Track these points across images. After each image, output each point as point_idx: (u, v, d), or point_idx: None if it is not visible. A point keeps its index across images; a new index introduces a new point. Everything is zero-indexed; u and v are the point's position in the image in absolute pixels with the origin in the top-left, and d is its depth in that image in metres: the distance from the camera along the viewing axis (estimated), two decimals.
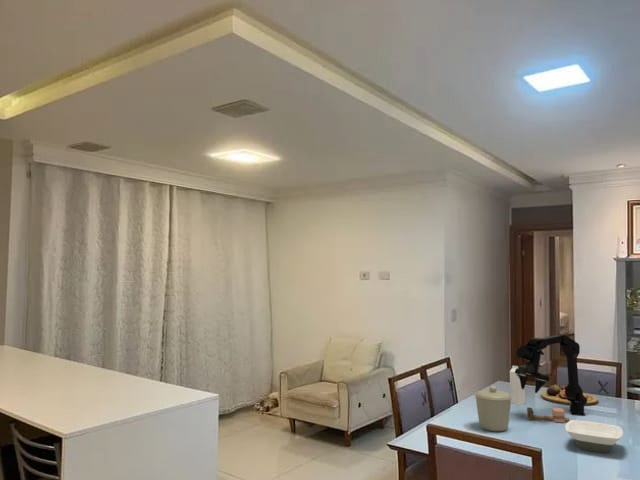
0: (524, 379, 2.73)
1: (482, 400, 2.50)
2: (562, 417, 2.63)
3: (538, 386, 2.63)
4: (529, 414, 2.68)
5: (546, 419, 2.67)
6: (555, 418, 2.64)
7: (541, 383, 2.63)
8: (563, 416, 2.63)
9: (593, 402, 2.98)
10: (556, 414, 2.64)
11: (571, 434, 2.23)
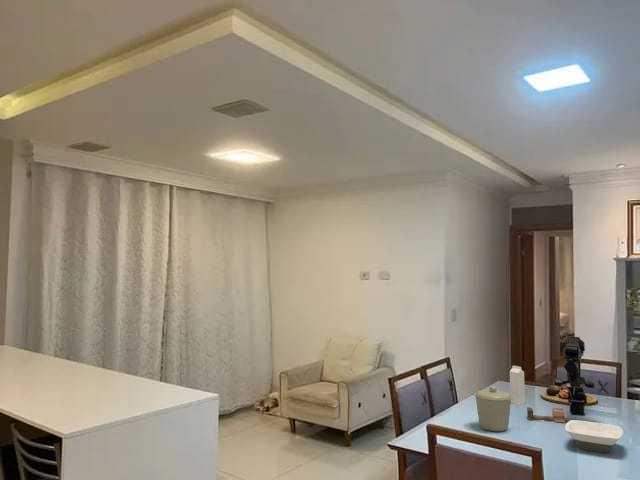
0: None
1: (482, 400, 2.50)
2: (562, 417, 2.63)
3: None
4: (529, 414, 2.68)
5: (546, 419, 2.67)
6: (555, 418, 2.64)
7: None
8: (563, 416, 2.63)
9: (593, 402, 2.99)
10: (556, 414, 2.64)
11: (571, 434, 2.23)
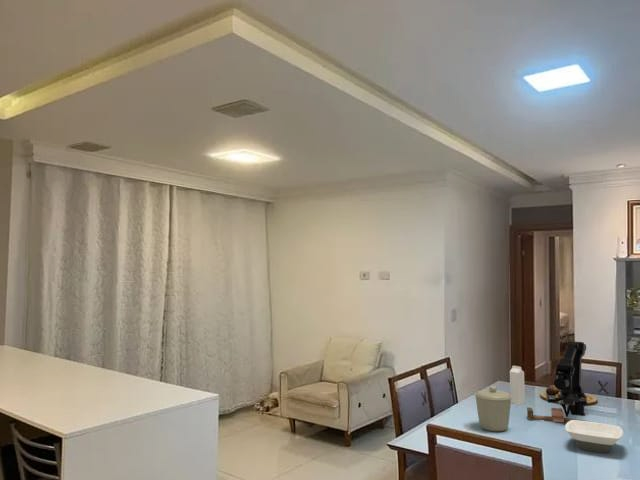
0: None
1: (482, 400, 2.50)
2: (561, 417, 2.63)
3: None
4: (529, 414, 2.68)
5: (546, 419, 2.67)
6: (554, 418, 2.64)
7: None
8: (562, 416, 2.63)
9: (592, 402, 2.99)
10: (555, 414, 2.64)
11: (571, 434, 2.23)
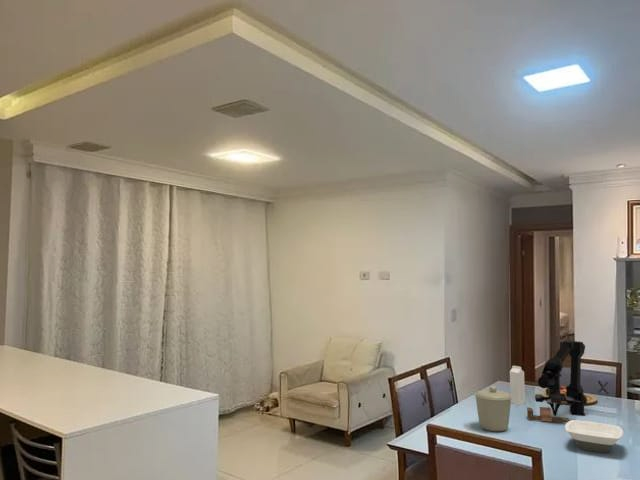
0: None
1: (482, 400, 2.50)
2: (549, 416, 2.65)
3: None
4: (529, 414, 2.68)
5: None
6: (542, 417, 2.66)
7: None
8: (550, 415, 2.65)
9: (592, 402, 2.99)
10: (543, 413, 2.66)
11: (571, 434, 2.23)
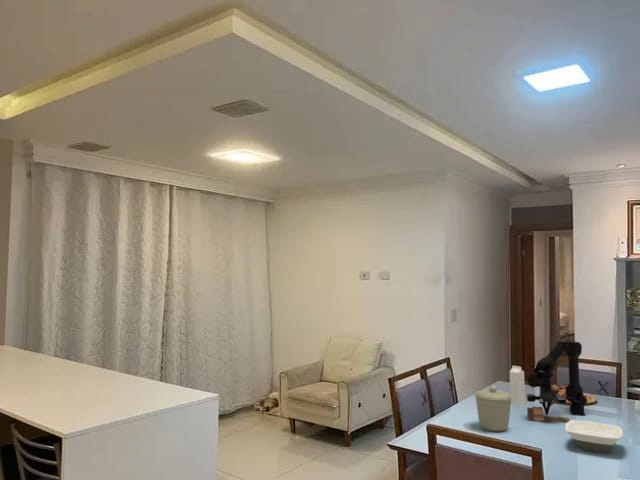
0: None
1: (482, 400, 2.50)
2: (541, 415, 2.66)
3: None
4: (529, 414, 2.68)
5: (546, 419, 2.67)
6: (534, 416, 2.67)
7: None
8: (542, 414, 2.66)
9: (592, 402, 2.99)
10: (535, 412, 2.67)
11: (571, 434, 2.23)
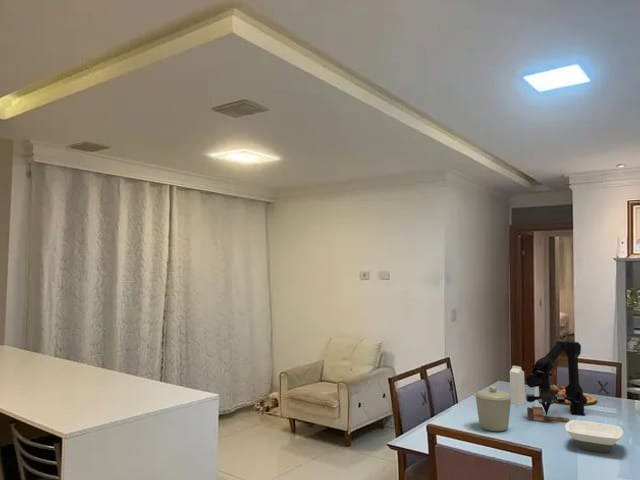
0: None
1: (482, 400, 2.50)
2: (541, 415, 2.66)
3: None
4: (529, 414, 2.68)
5: (546, 419, 2.67)
6: (534, 416, 2.67)
7: None
8: (542, 414, 2.66)
9: (591, 402, 2.99)
10: (535, 412, 2.67)
11: (571, 434, 2.23)
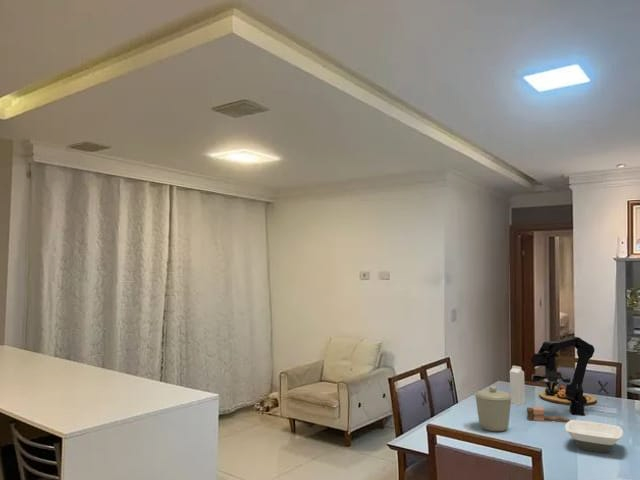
0: None
1: (482, 400, 2.50)
2: (541, 415, 2.66)
3: None
4: (529, 414, 2.68)
5: (546, 419, 2.67)
6: (534, 416, 2.67)
7: None
8: (542, 414, 2.66)
9: (591, 402, 2.99)
10: (535, 412, 2.67)
11: (571, 434, 2.23)
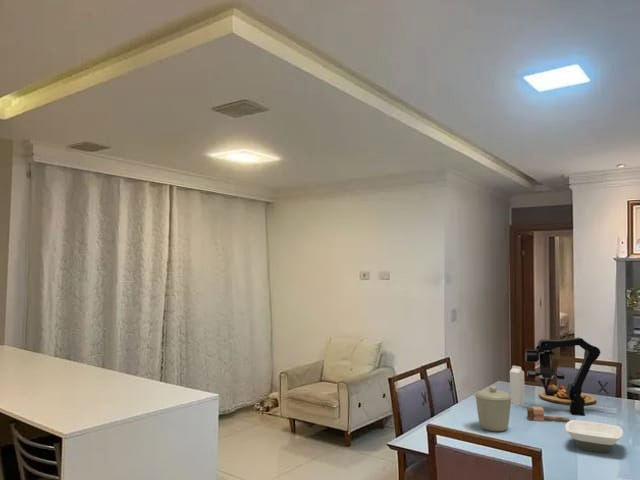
0: None
1: (482, 400, 2.50)
2: (541, 415, 2.66)
3: None
4: (529, 414, 2.68)
5: (546, 419, 2.67)
6: (534, 416, 2.67)
7: None
8: (542, 414, 2.66)
9: (591, 402, 2.99)
10: (535, 412, 2.67)
11: (571, 434, 2.23)
